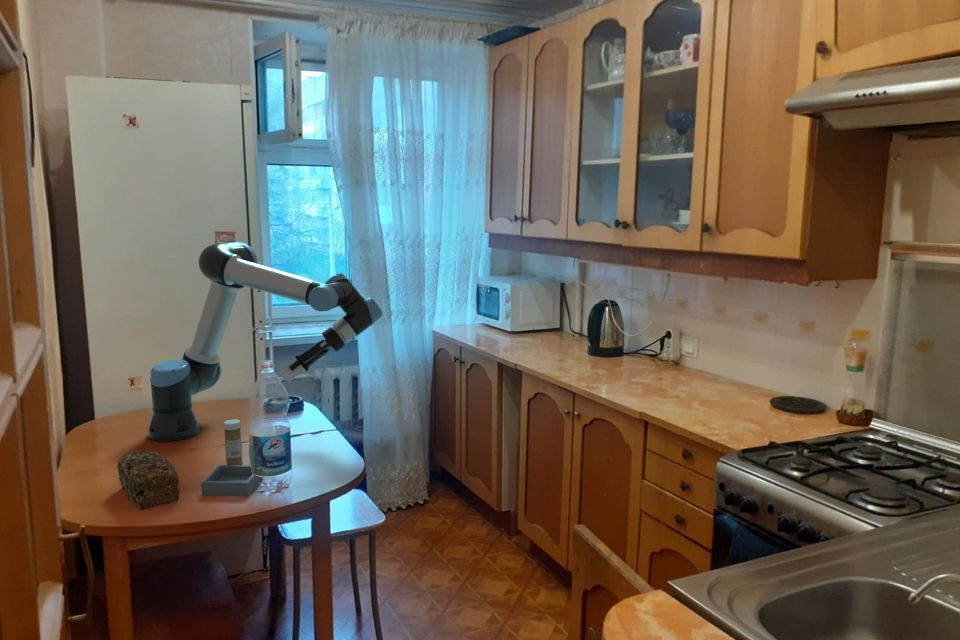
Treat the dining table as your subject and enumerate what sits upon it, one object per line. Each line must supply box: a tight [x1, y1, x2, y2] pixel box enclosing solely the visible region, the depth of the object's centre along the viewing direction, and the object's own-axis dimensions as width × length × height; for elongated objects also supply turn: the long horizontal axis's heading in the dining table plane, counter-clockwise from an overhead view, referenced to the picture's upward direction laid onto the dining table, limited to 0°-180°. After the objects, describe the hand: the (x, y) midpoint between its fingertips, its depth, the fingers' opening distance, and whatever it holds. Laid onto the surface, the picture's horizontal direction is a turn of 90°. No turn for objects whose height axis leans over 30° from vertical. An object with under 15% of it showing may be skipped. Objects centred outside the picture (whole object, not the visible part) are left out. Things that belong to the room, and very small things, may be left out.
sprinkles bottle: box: [223, 419, 244, 465], centre depth 199 cm, size 5×5×13 cm
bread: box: [117, 449, 180, 510], centre depth 180 cm, size 19×11×10 cm, turn 39°
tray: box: [200, 464, 263, 497], centre depth 185 cm, size 12×12×4 cm
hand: (283, 378), depth 216 cm, fingers open, 13 cm apart
